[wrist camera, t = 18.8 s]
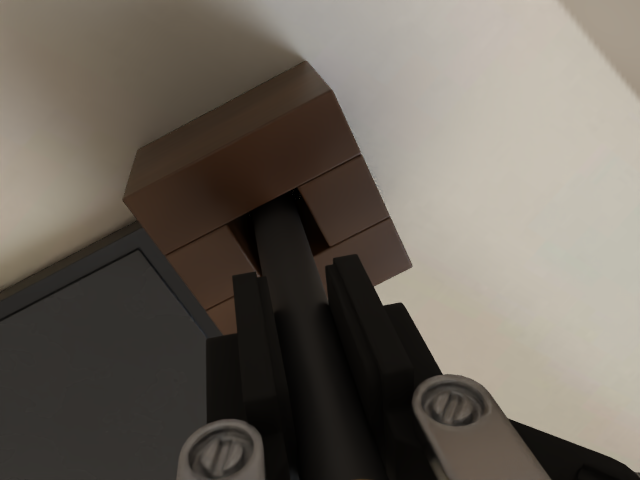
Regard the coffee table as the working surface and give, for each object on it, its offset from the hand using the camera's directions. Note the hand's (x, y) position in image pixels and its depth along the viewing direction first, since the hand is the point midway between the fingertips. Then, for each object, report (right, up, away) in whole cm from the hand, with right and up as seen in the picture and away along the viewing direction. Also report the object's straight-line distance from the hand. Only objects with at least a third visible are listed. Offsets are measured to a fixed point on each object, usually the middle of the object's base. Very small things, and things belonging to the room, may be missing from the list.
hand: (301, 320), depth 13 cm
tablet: (-10, -5, +10) cm, 15 cm away
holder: (-1, +4, +7) cm, 8 cm away
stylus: (-1, +3, +5) cm, 6 cm away
